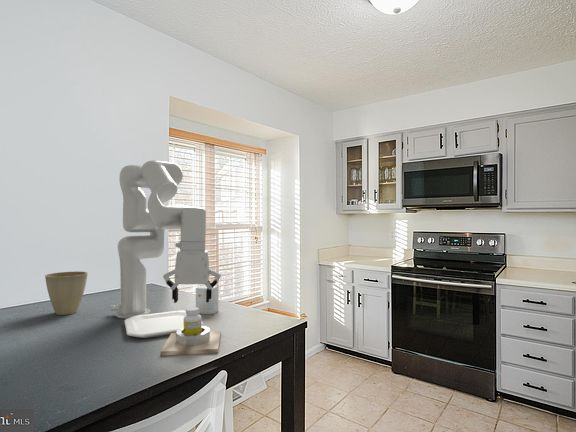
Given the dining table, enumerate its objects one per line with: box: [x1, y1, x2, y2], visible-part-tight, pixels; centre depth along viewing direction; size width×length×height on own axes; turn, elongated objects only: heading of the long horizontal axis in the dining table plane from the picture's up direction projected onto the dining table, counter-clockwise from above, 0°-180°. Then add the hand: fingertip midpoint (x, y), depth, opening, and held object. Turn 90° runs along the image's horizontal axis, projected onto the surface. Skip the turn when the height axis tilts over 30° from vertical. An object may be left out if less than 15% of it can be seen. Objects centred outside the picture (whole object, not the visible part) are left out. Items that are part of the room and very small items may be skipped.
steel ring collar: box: [176, 325, 211, 346], centre depth 110 cm, size 10×10×3 cm
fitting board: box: [160, 330, 222, 357], centre depth 110 cm, size 16×16×1 cm
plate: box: [123, 310, 204, 339], centre depth 128 cm, size 25×25×2 cm
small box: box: [195, 285, 219, 315], centre depth 147 cm, size 8×6×10 cm
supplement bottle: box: [184, 306, 203, 335], centre depth 110 cm, size 5×5×10 cm
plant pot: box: [44, 270, 89, 316], centre depth 146 cm, size 15×15×16 cm
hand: (192, 301), depth 111 cm, fingers open, 9 cm apart
